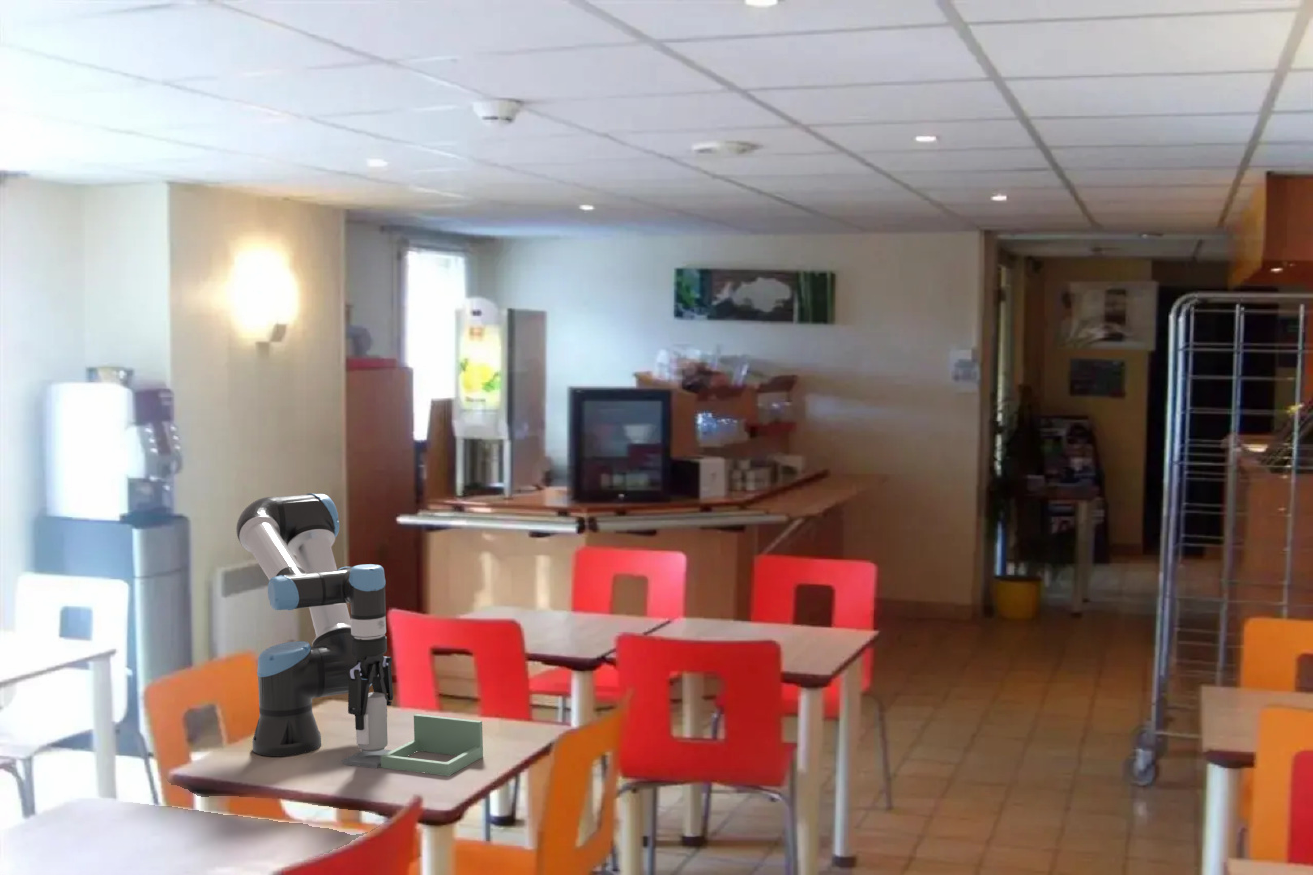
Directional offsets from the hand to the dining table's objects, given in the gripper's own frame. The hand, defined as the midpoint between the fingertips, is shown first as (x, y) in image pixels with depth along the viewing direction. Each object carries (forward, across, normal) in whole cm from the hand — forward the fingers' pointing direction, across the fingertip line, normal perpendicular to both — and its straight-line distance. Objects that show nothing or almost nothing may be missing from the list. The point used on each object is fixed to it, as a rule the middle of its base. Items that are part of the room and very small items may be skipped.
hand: (372, 739), depth 297 cm
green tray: (+5, +3, -14) cm, 15 cm away
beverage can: (+2, 0, 0) cm, 2 cm away
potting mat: (+5, 0, 0) cm, 5 cm away
